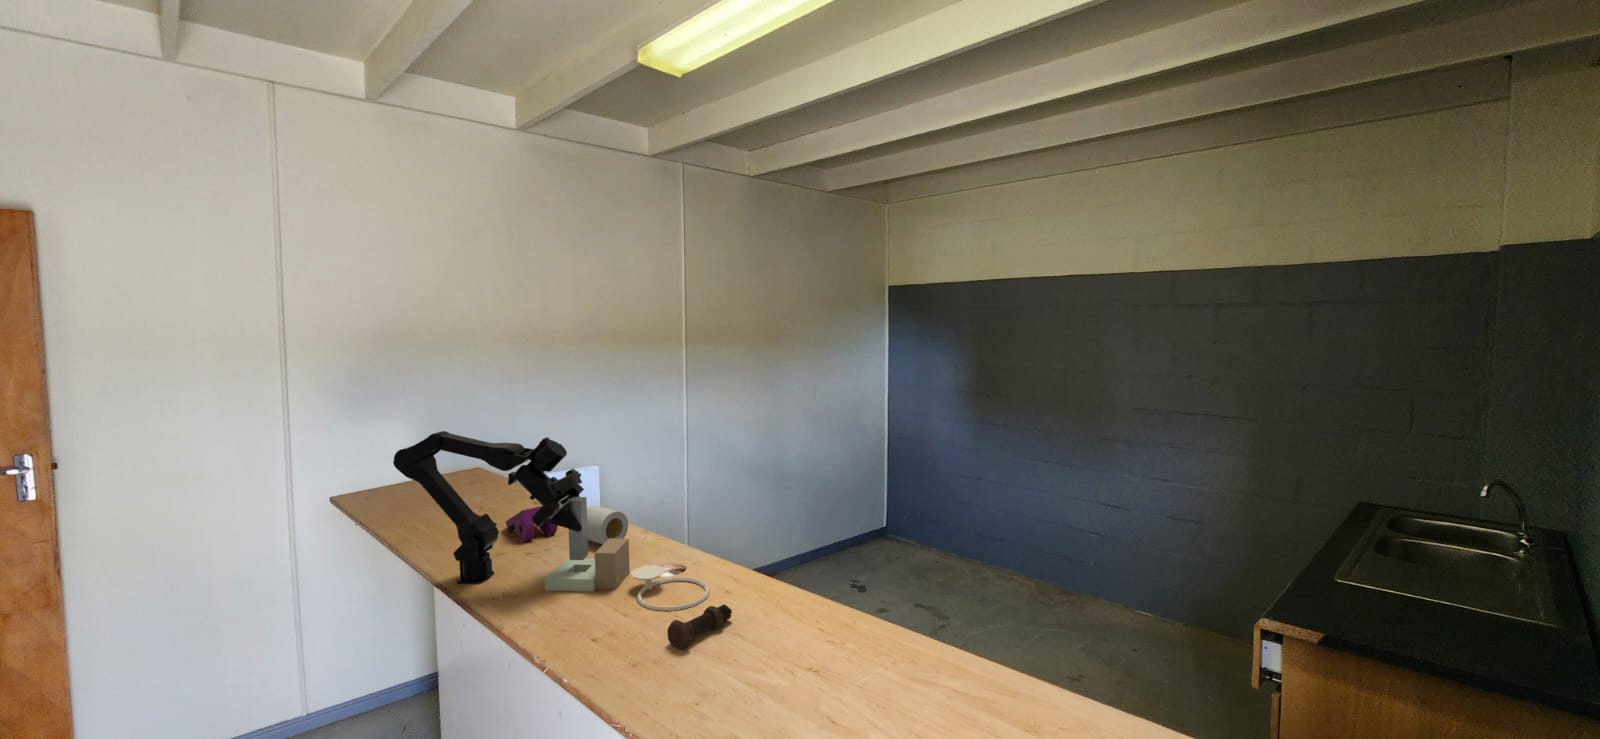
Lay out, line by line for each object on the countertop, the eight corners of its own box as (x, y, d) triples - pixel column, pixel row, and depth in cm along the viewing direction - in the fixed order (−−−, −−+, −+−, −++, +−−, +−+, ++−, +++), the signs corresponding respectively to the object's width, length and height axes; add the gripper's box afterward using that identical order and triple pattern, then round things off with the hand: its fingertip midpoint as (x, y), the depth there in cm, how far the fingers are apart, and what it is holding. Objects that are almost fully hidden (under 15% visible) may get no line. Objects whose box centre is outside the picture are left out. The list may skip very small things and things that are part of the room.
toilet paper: (578, 544, 188) (577, 510, 187) (606, 534, 196) (605, 502, 195) (600, 551, 182) (599, 516, 181) (628, 540, 190) (627, 507, 189)
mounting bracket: (507, 550, 199) (528, 538, 187) (501, 524, 201) (521, 510, 189) (537, 542, 206) (559, 530, 194) (531, 517, 208) (553, 503, 196)
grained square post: (569, 559, 160) (567, 500, 159) (575, 554, 163) (573, 496, 162) (583, 560, 160) (581, 501, 159) (588, 555, 163) (586, 497, 162)
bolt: (729, 628, 141) (678, 656, 129) (715, 612, 143) (663, 637, 131) (740, 609, 139) (688, 635, 127) (725, 593, 141) (673, 617, 129)
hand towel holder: (677, 600, 141) (609, 581, 152) (677, 619, 142) (610, 599, 152) (723, 572, 156) (659, 556, 166) (723, 590, 156) (659, 573, 167)
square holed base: (545, 590, 156) (543, 554, 155) (568, 569, 169) (566, 535, 168) (613, 591, 155) (612, 555, 154) (631, 570, 168) (630, 536, 167)
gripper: (543, 471, 150) (591, 517, 151) (575, 453, 169) (617, 495, 169) (511, 503, 152) (559, 550, 152) (546, 482, 170) (589, 524, 171)
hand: (583, 528), depth 161 cm, fingers closed on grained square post, 3 cm apart
